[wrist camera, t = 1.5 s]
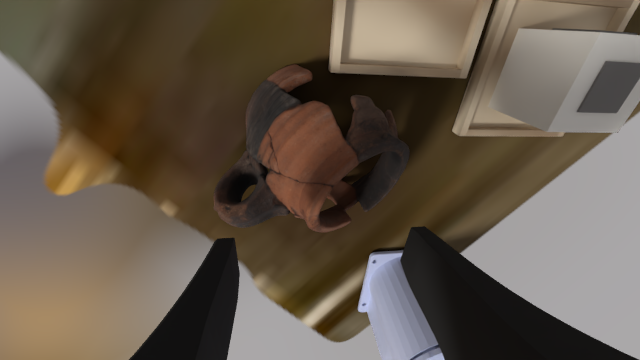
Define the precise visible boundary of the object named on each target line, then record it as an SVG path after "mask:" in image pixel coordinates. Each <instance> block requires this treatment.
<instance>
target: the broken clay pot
mask: <svg viewBox="0 0 640 360" xmlns="http://www.w3.org/2000/svg"><path fill="white" fill-rule="evenodd" d="M312 78H313V77H312V73H311V72H310V71H309V70H307V69H304V68H302V67H300V66H298V65H296V64H292V65H290V66H286V67H284V68H282V69H280V70H278V71H276V72H275V73H273V74H272V75H271V76H269V77H268V78H267V79H266V80H265V81H263V82H262V83H261V85H260V86H259V87H258V88H257V90H256V91H255V92H254V94H253V95H252V98H251V100H250V102H249V104H248V107H247V110H246V129H247V131H246V135H247V138H246V142H247V146H246V148H247V150H246V151H245V152H244V154H243V156H242V157H241V158H240V160H239V161H238V162H237V163H236V164H235V165H233V166H232V167H231V168H230V169H229V170H228V171H227V172H226V173H225V174H224V175H223V177H222V178H221V179H220V181H219V182H218V184H217V186H216V188H215V192H214V204H215V205H214V210H216V211H217V212H218V214H219V217H220V218H221V219H222V220H223V221H225V222H227V223H228V224H230V225H232V226H235V227H241V228H245V227H250V226H254V225H257V224H259V223H262V222H264V221H265V220H268V219H270V218H272V217H274V216H279V215H288V214H289V213H290V211H291V212H292V213H293V214H294V216H295V217H298V218H301V219H305V221H306V223H307V225H308V227H309V228H310V229H312V230H314V231H316V232H328V231H333V230H336V229H338V228H341V227H344V226H345V225H347V224H349V223H350V222H351V218H350V217H349V216H348V214H347V213H346V212H345V211H346V210H348V209H349V208H351V207H352V206H353V205H355V204H356V203H357V202H358V201H359V202H360V204H361V206H362V207H363V210H364V211H365V212H367V211H369V210H370V209H372V208H373V207H374V206H375V205H376V204H378V203H379V202H380V201H381V200H382V199H383V198H384V197H385V196H386V195H387V194H388V193H389V191H390V190H391V189H392V188H393V187H394V185H395V184H396V182H397V181H398V179H399V177H400V176H401V174H402V173H403V171H404V169H405V168H406V164H407V162H408V160H409V153H410V152H409V147H408V145H407V144H406V143H404V142H403V141H401V140H400V139H399V138H398V133H397V128H396V123H395V120H394V118H393V115H392V112H391V110H387V111H386V112H385V115H384V113H383V112H382V111H381V110H380V109H379V108H377V107H376V106H375V105H374V103H373V101H372V100H371V98H369V97H367V96H362V95H353V96H352V97H351V104H352V107H353V109H354V113H353V118H352V122H351V126H350V129H349V130H348V132H347V135H346V137H345V138H344V137H343V135H342V132H341V130H340V128H339V126H338V125H337V122H336V120H335V118H334V116H333V114H332V111H331V109H330V107H329V106H328V105H325V104H324V103H322V102H319V101H310V102H307V103H305V104H301V102H300V100H298V99H297V98H295V97H293V96H291V95H289V94H288V92H290V91H291V90H293V89H294V88H296V87H298V86H300V85H302V84H304V83H307V82H309V81H311V80H312ZM380 153H382V155H381V156H380V158H379V160H378V162H377V163H376V165H375V166H374V168H373V169H372V171H371V172H369V173H368V174H367V175H365V176H364V177H362V178H360V179H359V180H358V181H356V182H354V183H353V184H352V185H351V184H348V183H347V182H344V181H342V180H341V179H342V178H343V177H344V176H345V175H347V174H348V173H349V172H350V171H351V170H352V169H353V168H355V167H356V166H357V165H358V164H359V163H360V162H363V161H365V160H367V159H369V158H371V157H373V156H375V155H377V154H380ZM266 167H267V168H269V169H270V171H269V173H268V170H267V168H266ZM254 184H255V185H257V186H256V188H255V190H254V191H253V193H252V194H251V195H250V196H249V197H248V198H246V199H245V200H243V201H242V202H241V198H242V196H243V194H244V192H245V190H246V189H247V188H248V187H249V186H251V185H254ZM326 197H328V198H329V199H331V200H332V201H333V202H334V203H335V204H336V205H335V206H334V207H331V208H329V209H327V210H324V211H321V212H320V210H321V207H322V205H323V203H324V201H325V199H326Z"/></svg>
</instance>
